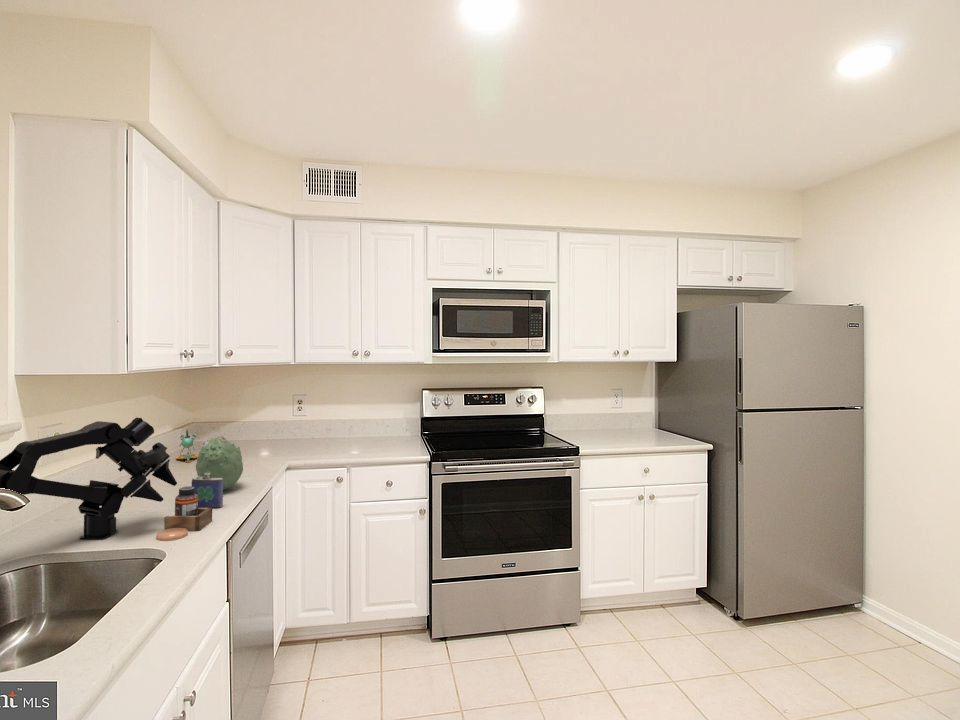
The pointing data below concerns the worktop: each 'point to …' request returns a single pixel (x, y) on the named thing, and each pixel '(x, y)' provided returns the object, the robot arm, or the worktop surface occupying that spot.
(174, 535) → the tan flat disc
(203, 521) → the wooden box
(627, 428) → the worktop surface
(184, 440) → the teal round figure
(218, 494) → the flask
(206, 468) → the green bumpy egg shape
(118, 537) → the worktop surface
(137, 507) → the worktop surface
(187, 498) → the supplement bottle
